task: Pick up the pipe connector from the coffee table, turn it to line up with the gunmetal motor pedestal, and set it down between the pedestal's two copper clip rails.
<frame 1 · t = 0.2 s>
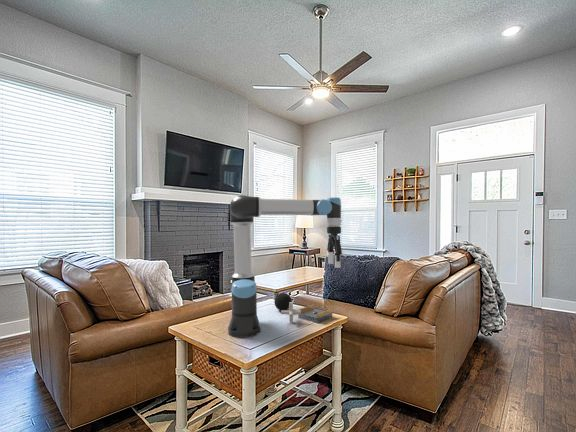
hand: (334, 265, 170), 27 cm above the table, fingers open, 13 cm apart
pipe connector: (291, 322, 162), on the table
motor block: (315, 317, 169), on the table
speaker: (283, 310, 182), on the table
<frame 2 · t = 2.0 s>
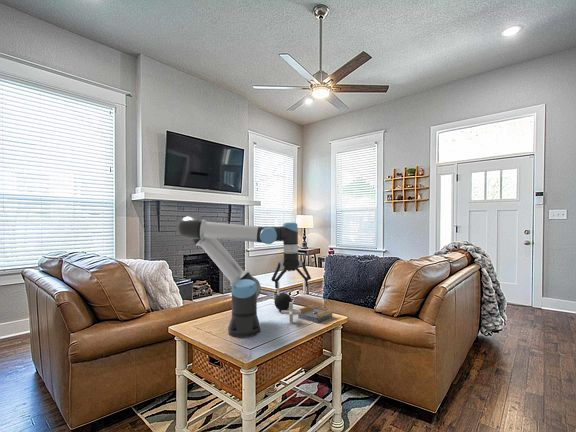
hand: (291, 294, 162), 14 cm above the table, fingers open, 13 cm apart
nothing on the table moved.
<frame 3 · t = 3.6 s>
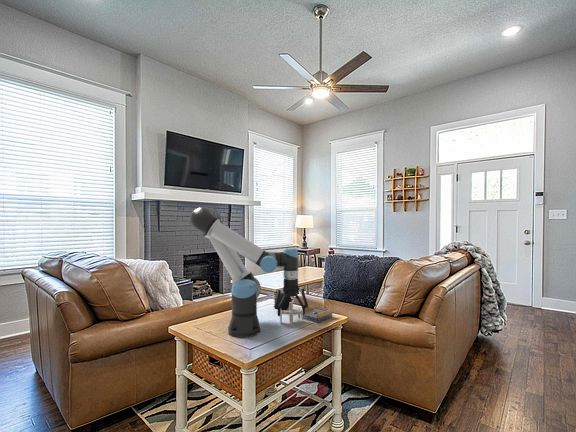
hand: (291, 321, 162), 0 cm above the table, fingers closed on pipe connector, 10 cm apart
pipe connector: (291, 322, 162), on the table, touching gripper
everything else where it was.
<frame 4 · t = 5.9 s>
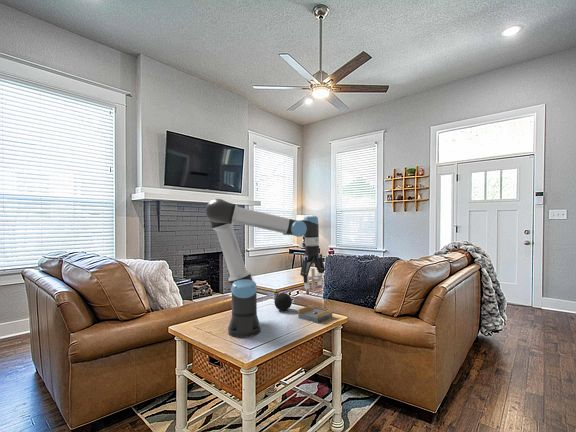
hand: (313, 286, 168), 17 cm above the table, fingers closed on pipe connector, 10 cm apart
pipe connector: (313, 287, 168), point 16 cm above the table, touching gripper
everything else where it was.
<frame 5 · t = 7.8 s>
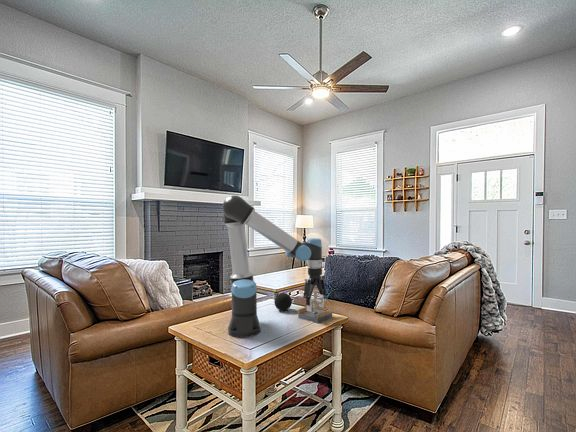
hand: (315, 308, 169), 5 cm above the table, fingers closed on pipe connector, 10 cm apart
pipe connector: (315, 309, 169), point 4 cm above the table, touching gripper
everything else where it was.
when the fingers open (4 cm above the table, at t = 8.4 s): pipe connector drops 1 cm, resting on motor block.
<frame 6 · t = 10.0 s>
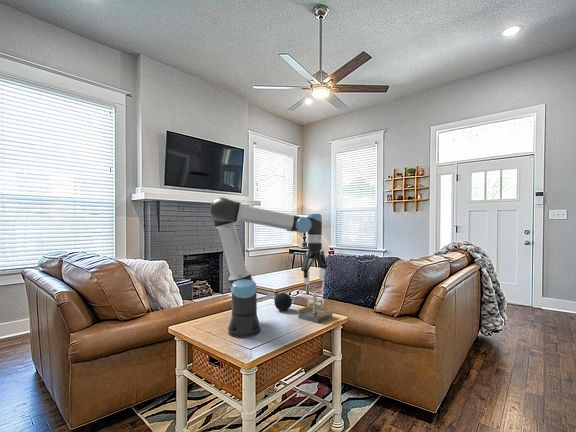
hand: (314, 282, 169), 19 cm above the table, fingers open, 13 cm apart
pipe connector: (315, 312, 169), point 3 cm above the table, touching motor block
everything else where it was.
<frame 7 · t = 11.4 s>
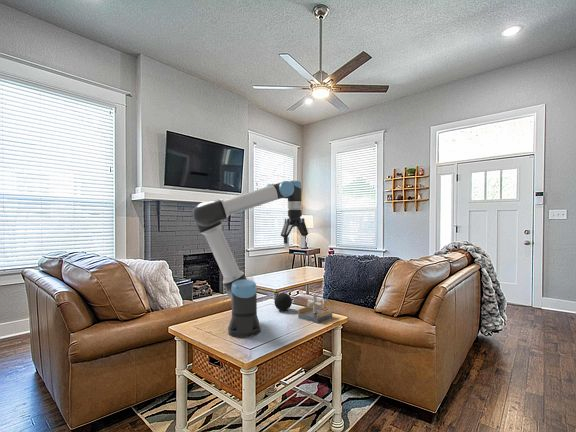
hand: (295, 248, 172), 37 cm above the table, fingers open, 13 cm apart
nothing on the table moved.
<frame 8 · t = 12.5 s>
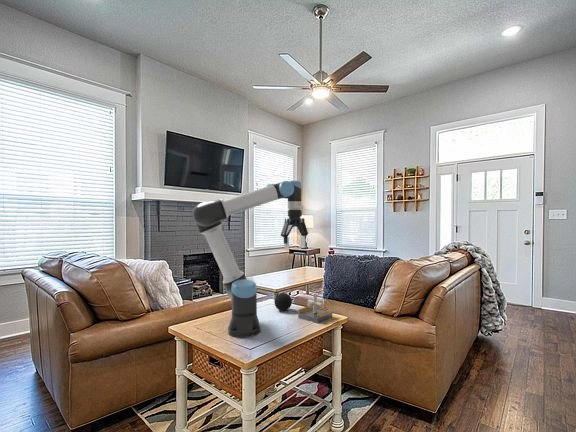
hand: (295, 248, 172), 37 cm above the table, fingers open, 13 cm apart
nothing on the table moved.
at the end: pipe connector 0.1 cm from the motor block (horizontally); pipe connector touching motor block; the gripper is holding nothing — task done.
